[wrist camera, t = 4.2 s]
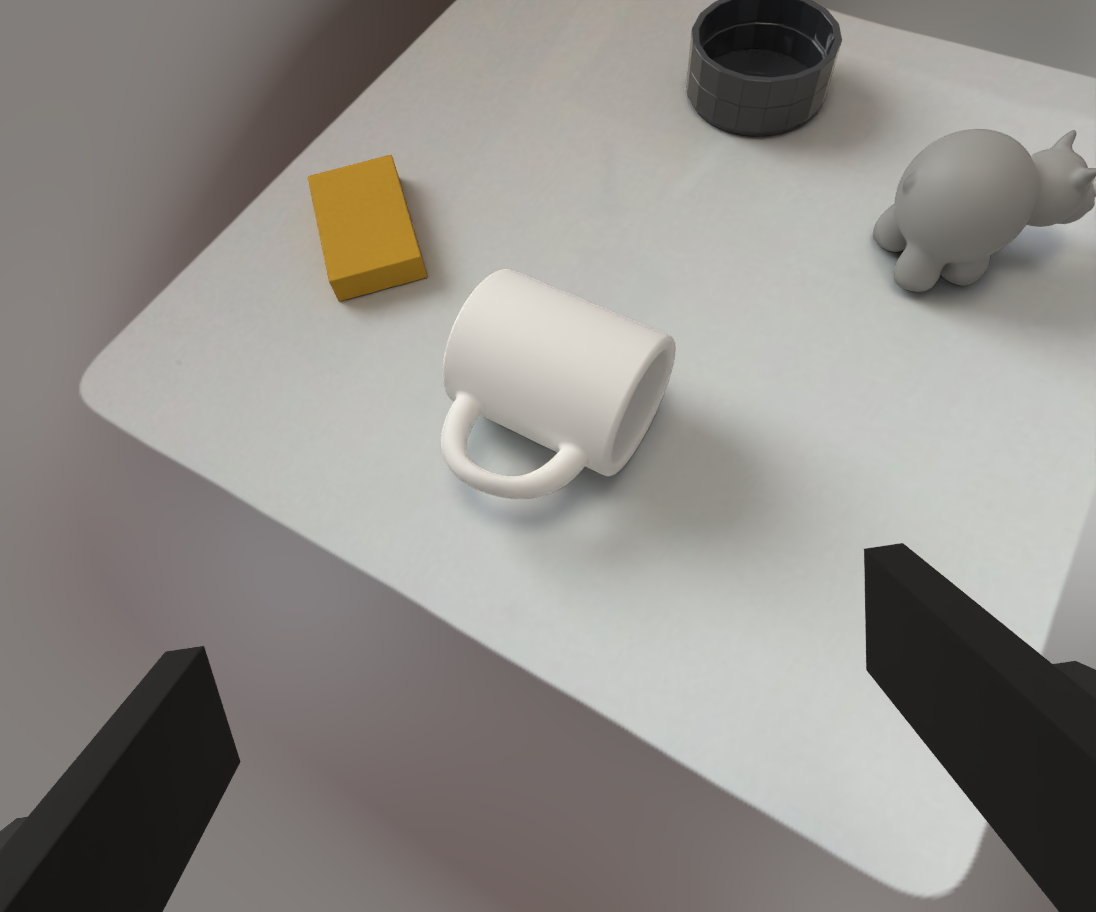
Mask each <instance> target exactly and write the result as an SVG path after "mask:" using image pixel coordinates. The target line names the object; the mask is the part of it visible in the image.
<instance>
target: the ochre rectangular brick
mask: <svg viewBox="0 0 1096 912" xmlns="http://www.w3.org/2000/svg"><path fill="white" fill-rule="evenodd" d="M308 181H309V186H310V191H311V196H312V201H313V206H314V210H315V215H316V220H317V225H318V230H319V235H320V240H321V245H322V249H323V254H324V259H325V264H326V269H327V274H328V279H329V282H330V284H331V286H332V289H333V291H334V293H335V295H336V297H337V299H338V301H343V300H347V299H350V298H354V297H357V296H361V295H365V294H368V293H372V292H376V291H379V290H383V289H386V288H390V287H394V286H397V285H401V284H405V283H408V282H412V281H415V280H419V279H423V278H426V277H427V273H426V270H425V266H424V263H423V259H422V256H421V253H420V249H419V246H418V242H417V239H416V235H415V232H414V228H413V225H412V222H411V218H410V215H409V211H408V208H407V204H406V201H405V197H404V194H403V190H402V187H401V184H400V180H399V177H398V173H397V170H396V167H395V164H394V161H393V157H392V155H387V156H384V157H380V158H376V159H372V160H368V161H364V162H361V163H357V164H353V165H349V166H345V167H342V168H338V169H334V170H330V171H326V172H322V173H319V174H315V175H311V176H308Z"/></svg>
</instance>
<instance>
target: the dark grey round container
mask: <svg viewBox="0 0 1096 912" xmlns="http://www.w3.org/2000/svg"><path fill="white" fill-rule="evenodd" d="M841 42H842V38H841V32H840V27H839V24H838V22H837V21H836V20H835V19H834V17H833V16H832V15H831V14H830V12H829V11H828V10H827V9H825V8H824V7H822V6H820V5H818V4H817V3H815V2H814V1H812V0H718V1H716V2H714V3H713V4H711V5H710V6H709V7H708V8H706V9H705V10H704V11H703V12H701V13H700V15H699V16H698V18H697V20H696V22H695V24H694V26H693V28H692V33H691V42H690V52H689V62H688V72H687V94H688V97H689V99H690V100H691V103H692V105H693V107H694V109H695V110H696V111H697V113H698V114H699V115H700V116H701V117H702V118H703V119H705V120H706V121H707V122H708V123H710V124H712V125H713V126H715V127H717V128H720V129H722V130H725V131H728V132H731V133H735V134H739V135H746V136H768V135H775V134H780V133H783V132H787V131H790V130H792V129H794V128H796V127H798V126H800V125H802V124H803V123H805V122H806V121H807V120H808V119H810V118H811V116H812V115H813V114H814V113H815V112H816V111H818V110H819V109H820V108H821V106H822V103H823V101H824V98H825V96H826V93H827V90H828V87H829V83H830V80H831V76H832V73H833V70H834V66H835V63H836V59H837V56H838V53H839V49H840V46H841Z"/></svg>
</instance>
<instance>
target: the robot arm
mask: <svg viewBox="0 0 1096 912" xmlns="http://www.w3.org/2000/svg"><path fill="white" fill-rule="evenodd" d="M864 565H865V618H866V670H867V671H868V673H869V674H870V675H871V676H872V678H873V679H874V680H875V681H876V683H877V684H878V685H879V686H880V688H881V689H882V690H883V691H884V693H885V694H886V695H887V696H888V698H889V699H890V700H891V701H892V703H893V704H894V705H895V706H896V708H897V709H898V710H899V711H900V713H901V714H902V715H903V716H904V718H905V719H906V720H907V721H908V723H909V724H910V725H911V726H912V728H913V729H914V730H915V732H916V733H917V734H918V735H919V737H920V738H921V739H922V740H923V742H924V743H925V744H926V745H927V747H928V748H929V749H930V750H931V752H932V753H933V754H934V755H935V757H936V758H937V759H938V760H939V762H940V763H941V764H942V765H943V767H944V768H945V769H946V770H947V772H948V773H949V774H950V775H951V777H952V778H953V779H954V780H955V782H956V783H957V784H958V785H959V787H960V788H961V789H962V790H963V792H964V793H965V794H966V795H967V797H968V798H969V799H970V801H971V802H972V803H973V804H974V806H975V807H976V808H977V809H978V811H979V812H980V813H981V814H982V816H983V817H984V818H985V819H986V821H987V822H988V823H989V824H990V826H991V827H992V828H993V829H994V831H995V832H996V833H997V834H998V836H999V837H1000V838H1001V839H1002V841H1003V842H1004V843H1005V844H1006V846H1007V847H1008V848H1009V849H1010V851H1011V852H1012V853H1013V854H1014V856H1015V857H1016V858H1017V859H1018V861H1019V862H1020V863H1021V864H1022V866H1023V867H1024V868H1025V870H1026V871H1027V872H1028V873H1029V874H1030V876H1031V877H1032V878H1033V880H1034V881H1035V882H1036V883H1037V884H1038V886H1039V887H1040V888H1041V890H1042V891H1043V892H1044V893H1045V895H1046V896H1047V897H1048V898H1049V899H1050V901H1051V902H1052V903H1053V905H1054V906H1055V907H1056V908H1057V910H1058V911H1059V912H1096V670H1095V669H1092V668H1090V667H1088V666H1086V665H1084V664H1081V663H1079V662H1077V661H1071V662H1065V663H1059V664H1051V663H1050V662H1049V661H1048V660H1047V659H1045V658H1044V657H1043V656H1042V655H1040V654H1039V653H1038V652H1037V651H1036V650H1034V649H1033V648H1032V647H1031V646H1029V645H1028V644H1027V643H1026V642H1024V641H1023V640H1022V639H1021V638H1019V637H1018V636H1017V635H1016V634H1014V633H1013V632H1012V631H1011V630H1010V629H1008V628H1007V627H1006V626H1005V625H1003V624H1002V623H1001V622H1000V621H998V620H997V619H996V618H995V617H993V616H992V615H991V614H990V613H989V612H987V611H986V610H985V609H984V608H982V607H981V606H980V605H979V604H977V603H976V602H975V601H974V600H972V599H971V598H970V597H969V596H967V595H966V594H965V593H964V592H963V591H961V590H960V589H959V588H958V587H956V586H955V585H954V584H953V583H951V582H950V581H949V580H948V579H946V578H945V577H944V576H943V575H941V574H940V573H939V572H938V571H937V570H935V569H934V568H933V567H932V566H930V565H929V564H928V563H927V562H925V561H924V560H923V559H922V558H920V557H919V556H918V555H917V554H916V553H914V552H913V551H912V550H911V549H909V548H908V547H907V546H906V545H904V544H903V543H901V544H894V545H887V546H880V547H874V548H867V549H864ZM239 764H240V759H239V756H238V753H237V750H236V747H235V743H234V740H233V737H232V734H231V731H230V727H229V724H228V721H227V718H226V715H225V712H224V708H223V705H222V702H221V699H220V696H219V693H218V689H217V686H216V683H215V680H214V676H213V673H212V670H211V667H210V664H209V660H208V657H207V655H206V651H205V648H204V646H201V647H194V648H188V649H180V650H174V651H167V652H165V653H164V654H163V655H162V657H161V658H160V659H159V660H158V662H157V663H156V664H155V665H154V666H153V667H152V669H151V670H150V671H149V672H148V673H147V675H146V676H145V677H144V678H143V679H142V681H141V682H140V683H139V684H138V685H137V687H136V688H135V689H134V690H133V691H132V693H131V694H130V695H129V696H128V697H127V698H126V700H125V701H124V702H123V703H122V704H121V706H120V707H119V708H118V709H117V710H116V712H115V713H114V714H113V715H112V716H111V718H110V719H109V720H108V721H107V723H106V724H105V725H104V726H103V727H102V729H101V730H100V731H99V732H98V733H97V734H96V736H95V737H94V738H93V739H92V741H91V742H90V743H89V744H88V745H87V746H86V748H85V749H84V750H83V751H82V753H81V754H80V755H79V756H78V757H77V759H76V760H75V761H74V762H73V763H72V765H71V766H70V767H69V768H68V769H67V771H66V772H65V773H64V774H63V775H62V776H61V778H60V779H59V780H58V781H57V783H56V784H55V785H54V786H53V787H52V789H51V790H50V791H49V792H48V793H47V795H46V796H45V797H44V798H43V799H42V800H41V802H40V803H39V804H38V805H37V806H36V808H35V809H34V810H33V811H32V812H31V814H30V815H29V816H28V817H24V818H17V819H15V820H14V821H13V822H12V823H10V824H9V825H8V826H6V827H5V828H4V829H3V830H1V831H0V912H163V910H164V908H165V906H166V904H167V902H168V900H169V898H170V896H171V894H172V893H173V891H174V888H175V887H176V885H177V883H178V881H179V879H180V877H181V875H182V873H183V871H184V869H185V867H186V866H187V864H188V862H189V860H190V858H191V856H192V854H193V852H194V850H195V848H196V846H197V844H198V843H199V841H200V838H201V837H202V835H203V833H204V831H205V829H206V827H207V825H208V823H209V821H210V819H211V817H212V816H213V814H214V812H215V810H216V808H217V806H218V804H219V802H220V800H221V798H222V796H223V794H224V792H225V791H226V789H227V787H228V785H229V783H230V781H231V779H232V777H233V775H234V773H235V771H236V769H237V767H238V765H239Z"/></svg>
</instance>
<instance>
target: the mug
mask: <svg viewBox="0 0 1096 912" xmlns="http://www.w3.org/2000/svg"><path fill="white" fill-rule="evenodd" d="M675 351H676V347H675V341H674V339H673V338H672V337H671V336H670V335H668V334H665V333H663V332H660V331H658V330H656V329H653V328H651V327H648V326H646V325H644V324H641V323H639V322H636V321H634V320H632V319H629V318H627V317H624V316H622V315H620V314H617V313H615V312H612V311H610V310H608V309H605V308H603V307H600V306H598V305H596V304H593V303H591V302H588V301H586V300H584V299H581V298H579V297H576V296H574V295H572V294H569V293H567V292H564V291H562V290H560V289H557V288H555V287H552V286H550V285H548V284H545V283H543V282H541V281H538V280H536V279H533V278H531V277H529V276H526V275H524V274H521V273H519V272H517V271H514V270H511V269H502V270H499V271H496V272H494V273H492V274H491V275H489V276H488V277H486V278H485V279H484V280H483V281H482V282H481V283H480V284H479V285H478V286H477V287H476V288H475V290H474V291H473V292H472V293H471V295H470V296H469V297H468V299H467V300H466V302H465V304H464V305H463V307H462V309H461V311H460V312H459V314H458V316H457V318H456V321H455V323H454V325H453V328H452V330H451V333H450V336H449V339H448V342H447V346H446V350H445V355H444V361H443V382H444V387H445V390H446V393H447V395H448V396H449V398H450V399H451V400H452V401H454V403H453V404H452V406H451V408H450V410H449V412H448V414H447V417H446V419H445V422H444V425H443V429H442V434H441V450H442V455H443V458H444V460H445V462H446V464H447V466H448V467H449V469H450V470H451V471H452V472H453V473H454V474H455V475H456V476H457V477H458V478H459V479H460V480H462V481H463V482H464V483H466V484H468V485H469V486H471V487H473V488H475V489H477V490H480V491H482V492H485V493H488V494H491V495H494V496H498V497H503V498H510V499H530V498H537V497H541V496H544V495H548V494H550V493H553V492H555V491H557V490H559V489H560V488H562V487H563V486H565V485H566V484H568V483H569V482H570V481H571V480H572V479H574V478H575V477H576V476H577V475H578V474H579V473H580V471H581V470H582V469H583V468H584V467H587V468H589V469H592V470H594V471H596V472H598V473H600V474H602V475H604V476H612V475H614V474H616V473H617V472H619V471H620V470H621V469H622V468H623V467H624V465H625V464H626V463H627V462H628V460H629V459H630V458H631V456H632V455H633V453H634V452H635V450H636V449H637V447H638V446H639V444H640V442H641V441H642V439H643V437H644V435H645V434H646V432H647V430H648V428H649V426H650V424H651V422H652V420H653V418H654V416H655V414H656V412H657V409H658V407H659V405H660V403H661V400H662V398H663V395H664V393H665V390H666V387H667V384H668V381H669V378H670V375H671V372H672V368H673V364H674V359H675ZM479 415H482V416H484V417H486V418H488V419H490V420H492V421H494V422H496V423H498V424H500V425H502V426H504V427H506V428H508V429H510V430H512V431H514V432H516V433H518V434H520V435H522V436H524V437H526V438H528V439H530V440H532V441H534V442H537V443H539V444H541V445H543V446H545V447H547V448H549V449H551V450H553V451H555V452H557V454H556V455H555V456H554V457H553V458H552V459H551V460H550V461H549V462H548V463H546V464H545V465H544V466H542V467H541V468H539V469H537V470H535V471H533V472H531V473H528V474H525V475H521V476H504V475H499V474H495V473H492V472H489V471H487V470H484V469H482V468H480V467H479V466H477V465H476V464H474V463H473V462H472V461H471V460H470V458H469V457H468V454H467V449H466V446H467V439H468V436H469V433H470V431H471V429H472V427H473V425H474V423H475V421H476V419H477V417H478V416H479Z"/></svg>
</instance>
